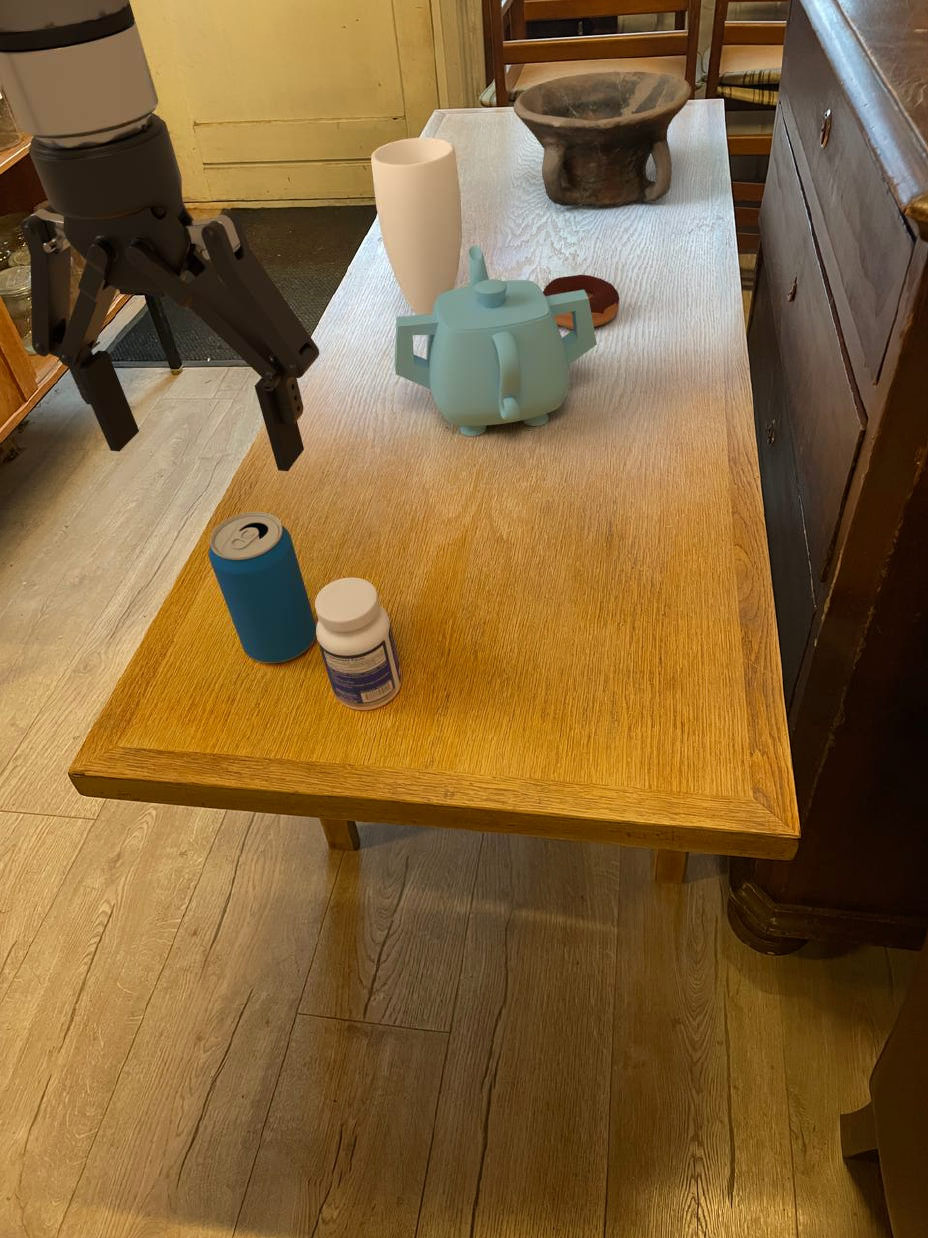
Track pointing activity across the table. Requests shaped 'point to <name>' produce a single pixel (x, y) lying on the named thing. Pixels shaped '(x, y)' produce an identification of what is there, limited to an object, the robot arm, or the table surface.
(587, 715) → the table surface
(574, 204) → the brown clay pot
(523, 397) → the teapot
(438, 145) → the cup
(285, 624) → the beverage can
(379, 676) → the pill bottle
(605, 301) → the donut
